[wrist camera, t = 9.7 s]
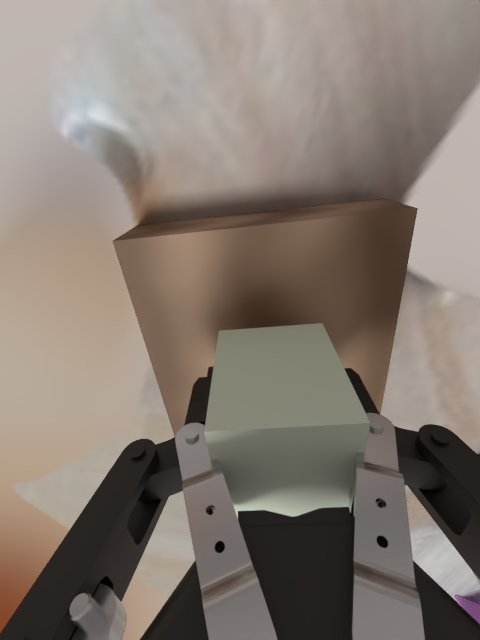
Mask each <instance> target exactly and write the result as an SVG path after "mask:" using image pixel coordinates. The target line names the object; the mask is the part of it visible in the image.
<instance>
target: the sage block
mask: <svg viewBox="0 0 480 640" xmlns="http://www.w3.org/2000/svg"><path fill="white" fill-rule="evenodd" d="M369 428H370V421H369V419H368V417H367V415H366V413H365V411H364V409H363V406H362V404H361V402H360V400H359V398H358V396H357V394H356V392H355V390H354V388H353V386H352V384H351V382H350V379H349V377H348V375H347V373H346V371H345V369H344V367H343V365H342V363H341V361H340V359H339V357H338V354H337V352H336V350H335V348H334V346H333V344H332V342H331V340H330V338H329V336H328V334H327V332H326V330H325V327H324V325H323V323H317V324H304V325H290V326H276V327H263V328H249V329H235V330H222V331H219V333H218V340H217V347H216V353H215V360H214V367H213V374H212V381H211V388H210V395H209V401H208V408H207V415H206V422H205V429H204V434H205V438H206V443H207V447H208V452H209V456H210V460H215V459H217V460H218V463H219V466H220V469H221V470H222V472H223V475H224V478H225V481H226V484H227V487H228V490H229V494H230V497H231V500H232V503H233V506H234V509H235V512H236V515H237V518H238V511H254V510H266V511H271V512H275V513H279V514H283V515H287V516H292V517H295V516H299V515H301V514H304V513H307V512H310V511H313V510H316V509H319V508H331V507H349V494H350V489H352V486H353V479H354V464H355V456H356V453H359V452H365V450H366V445H367V439H368V434H369Z"/></svg>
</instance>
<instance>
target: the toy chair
mask: <svg viewBox="0 0 480 640" xmlns="http://www.w3.org/2000/svg"><path fill="white" fill-rule="evenodd" d="M455 598H456V600H457V602H458V604H459V605H460V606H461V607H462V608H463V609H465V610H466V611H467V612H468V613H469V614H470V615H471V616H472V617H473V618H474V619H475V620H476V621H477V622H478V623H479V624H480V604H477V603H475V602H473V601H470V600H468V599H466V598H463V597H461V596H459V595H455Z"/></svg>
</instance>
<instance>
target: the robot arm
mask: <svg viewBox="0 0 480 640" xmlns="http://www.w3.org/2000/svg"><path fill="white" fill-rule="evenodd" d="M213 367H214V366H212V367H209V368H208V373H207V377H199V378H198V379H197V381H196V382H195V383H194V384H193V388H192V394H191V397H190V402H189V406H188V411H187V415H186V420H185V424H184V426H183V427H182V428H181V429H180V430H179V431H178V432H177V434H176V437H174V438H172V439H171V440H168V441H165V442H162V443H159V444H157V445H155V444H154V443H153V442H152V441H151V440H149V439H140V440H136V441H134V442H132V443H131V444H129V445H128V446H127V447H126V448H125V449H124V450H123V452H122V453H121V455H120V456H119V458H118V459H117V461H116V462H115V464H114V465H113V467H112V468H111V470H110V471H109V473H108V474H107V476H106V477H105V479H104V480H103V481H102V483H101V484H100V486H99V487H98V489H97V490H96V492H95V493H94V495H93V496H92V498H91V499H90V501H89V502H88V504H87V505H86V507H85V508H84V510H83V511H82V513H81V514H80V516H79V517H78V519H77V520H76V522H75V523H74V525H73V526H72V528H71V529H70V531H69V532H68V534H67V535H66V537H65V538H64V540H63V541H62V543H61V544H60V545H59V547H58V549H57V550H56V551H55V553H54V554H53V556H52V557H51V559H50V560H49V562H48V563H47V565H46V566H45V568H44V569H43V571H42V572H41V574H40V575H39V577H38V578H37V580H36V581H35V583H34V584H33V586H32V587H31V589H30V590H29V592H28V593H27V595H26V596H25V597H24V599H23V601H22V602H21V603H20V605H19V606H18V608H17V609H16V611H15V612H14V614H13V616H12V617H11V618H10V620H9V621H8V623H7V624H6V626H5V627H4V629H3V630H2V632H1V633H0V640H122V638H123V635H124V632H125V628H126V620H127V616H126V610H125V608H124V606H123V604H122V603H121V601H122V599H123V597H124V594H125V592H126V590H127V588H128V586H129V583H130V581H131V579H132V576H133V575H134V572H135V570H136V568H137V566H138V563H139V561H140V559H141V557H142V555H143V552H144V550H145V548H146V546H147V544H148V541H149V539H150V537H151V535H152V532H153V530H154V528H155V526H156V524H157V521H158V519H159V517H160V515H161V513H162V510H163V508H164V506H165V504H166V501H167V499H168V497H169V496H170V495H173V494H175V493H178V492H181V491H183V493H184V499H185V504H186V510H187V515H188V521H189V526H190V532H191V537H192V543H193V549H194V554H195V562H194V563H193V564H192V566H191V567H190V569H189V570H188V572H187V573H186V574H185V576H184V577H183V579H182V580H181V582H180V583H179V584H178V586H177V587H176V589H175V590H174V592H173V593H172V594H171V596H170V597H169V599H168V600H167V602H166V603H165V605H164V606H163V607H162V609H161V610H160V612H159V613H158V614H157V616H156V617H155V619H154V620H153V622H152V623H151V624H150V626H149V627H148V629H147V630H146V632H145V633H144V635H143V636H142V637H141V639H140V640H480V624H479V623H478V622H477V621H476V620H475V619H474V618H473V617H472V616H471V615H470V614H469V613H468V612H467V611H466V610H465V609H463V608H462V607H461V606H460V605H459V604H458V603H457V602H456V601H455V600H454V599H453V598H452V597H451V596H450V595H449V594H448V593H447V592H446V591H445V590H443V589H442V588H441V587H440V586H439V585H438V584H437V583H436V582H435V581H434V580H433V579H432V578H431V577H430V576H429V575H428V574H427V573H426V572H424V571H423V570H422V569H421V568H420V567H419V566H418V565H417V564H416V563H415V562H414V561H413V558H412V548H411V539H410V530H409V521H408V512H407V502H406V493H405V485H408V487H409V488H410V489H411V491H412V492H413V493H414V495H415V496H416V497H417V499H418V500H419V501H420V502H421V504H422V505H423V506H424V508H425V509H426V510H427V512H428V513H429V514H430V516H431V517H432V518H433V520H434V521H435V522H436V523H437V525H438V526H439V527H440V529H441V530H442V531H443V533H444V534H445V535H446V537H447V538H448V539H449V540H450V542H451V543H452V544H453V546H454V547H455V548H456V550H457V551H458V552H459V554H460V555H461V556H462V558H463V559H464V560H465V561H466V563H467V564H468V565H469V567H470V568H471V569H472V571H473V573H474V575H475V576H476V578H477V580H478V582H479V584H480V457H479V456H478V455H477V454H476V453H475V452H474V451H473V450H472V449H471V448H470V447H469V446H467V445H466V444H465V443H464V442H463V441H462V440H461V439H460V438H459V437H458V436H457V435H455V434H454V433H453V432H452V431H450V430H448V429H446V428H444V427H442V426H439V425H432V424H430V425H424V426H422V427H421V428H420V429H419V432H416V431H411V430H406V429H401V428H398V427H395V426H393V424H392V423H391V421H390V420H388V419H387V418H386V417H384V416H382V415H380V413H379V412H378V410H377V408H376V406H375V404H374V402H373V400H372V398H371V397H370V395H369V393H368V391H367V390H366V387H365V385H364V384H363V382H362V380H361V378H360V376H359V374H357V373H356V372H355V371H354V370H353V369H351V368H344V369H345V371H346V373H347V375H348V377H349V379H350V382H351V384H352V386H353V388H354V390H355V392H356V394H357V396H358V398H359V400H360V402H361V404H362V406H363V409H364V411H365V413H366V415H367V417H368V419H369V421H370V428H369V434H368V439H367V445H366V450H365V452H359V453H356V456H355V464H354V479H353V486H352V489H350V494H349V507H331V508H319V509H316V510H313V511H310V512H307V513H304V514H301V515H299V516H295V517H292V516H287V515H283V514H279V513H275V512H271V511H266V510H254V511H238V518H237V515H236V512H235V509H234V506H233V503H232V500H231V497H230V494H229V490H228V487H227V484H226V481H225V478H224V475H223V472H222V470H221V469H220V466H219V463H218V460H217V459H215V460H210V456H209V452H208V447H207V443H206V438H205V434H204V429H205V422H206V415H207V408H208V401H209V395H210V388H211V381H212V374H213Z"/></svg>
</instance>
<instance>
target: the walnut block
mask: <svg viewBox="0 0 480 640" xmlns="http://www.w3.org/2000/svg"><path fill="white" fill-rule="evenodd" d="M416 214H417V208H414V207H411V206H407V205H404V204H400V203H397V202H393V201H390V200H386V199H375V200H366V201H357V202H348V203H339V204H330V205H321V206H312V207H303V208H294V209H285V210H276V211H266V212H257V213H248V214H239V215H230V216H221V217H212V218H203V219H194V220H185V221H176V222H167V223H158V224H149V225H139V226H136V227H134V228H133V229H131V230H129V231H128V232H126V233H125V234H123V235H122V236H120V237H118V238H117V239H115V240H113V244H114V247H115V250H116V253H117V257H118V260H119V263H120V266H121V269H122V272H123V275H124V279H125V282H126V284H127V288H128V291H129V294H130V297H131V300H132V303H133V307H134V310H135V313H136V316H137V319H138V322H139V325H140V328H141V332H142V335H143V338H144V341H145V344H146V347H147V351H148V354H149V357H150V360H151V363H152V366H153V370H154V373H155V376H156V379H157V382H158V385H159V388H160V391H161V395H162V398H163V401H164V404H165V407H166V410H167V413H168V417H169V420H170V423H171V426H172V429H173V432H174V435H175V437H176V434H177V432H178V431H179V430H180V429H181V428H182V427H183V426H184V424H185V420H186V415H187V411H188V406H189V402H190V397H191V394H192V388H193V384H194V383H195V382H196V381H197V379H198V378H199V377H207V373H208V368H209V367H212V366H214V360H215V353H216V347H217V340H218V333H219V331H222V330H235V329H249V328H263V327H276V326H290V325H304V324H317V323H323V325H324V327H325V330H326V332H327V334H328V336H329V338H330V340H331V342H332V344H333V346H334V348H335V350H336V352H337V354H338V357H339V359H340V361H341V363H342V365H343V367H344V368H351V369H353V370H354V371H355V372H356V373H357V374H359V376H360V378H361V380H362V382H363V384H364V385H365V387H366V390H367V391H368V393H369V395H370V397H371V398H372V400H373V402H374V404H375V406H376V408H377V410H378V412H379V413H381V407H382V402H383V396H384V391H385V385H386V380H387V374H388V369H389V363H390V358H391V352H392V347H393V341H394V335H395V330H396V324H397V319H398V313H399V308H400V302H401V297H402V291H403V286H404V280H405V275H406V269H407V264H408V258H409V252H410V247H411V241H412V236H413V230H414V225H415V219H416Z"/></svg>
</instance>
